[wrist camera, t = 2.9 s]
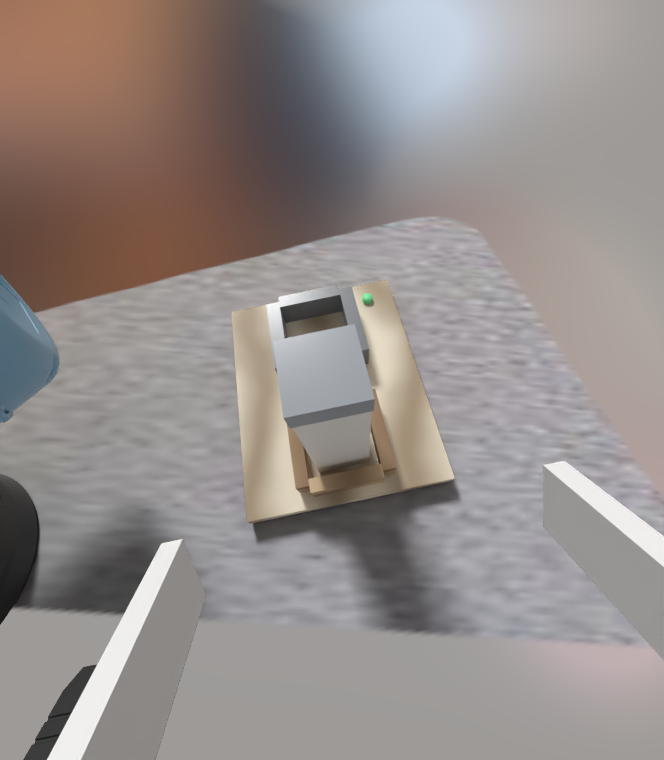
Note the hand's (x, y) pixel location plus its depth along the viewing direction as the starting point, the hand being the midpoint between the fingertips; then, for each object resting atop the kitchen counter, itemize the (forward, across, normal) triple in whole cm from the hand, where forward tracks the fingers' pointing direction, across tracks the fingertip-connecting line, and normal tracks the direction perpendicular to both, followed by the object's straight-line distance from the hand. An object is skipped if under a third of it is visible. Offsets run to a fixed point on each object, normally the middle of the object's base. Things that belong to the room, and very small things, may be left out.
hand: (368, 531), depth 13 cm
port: (+22, 0, +3) cm, 22 cm away
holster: (+15, -1, -4) cm, 16 cm away
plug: (+15, -1, -4) cm, 16 cm away
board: (+20, -1, -1) cm, 20 cm away
